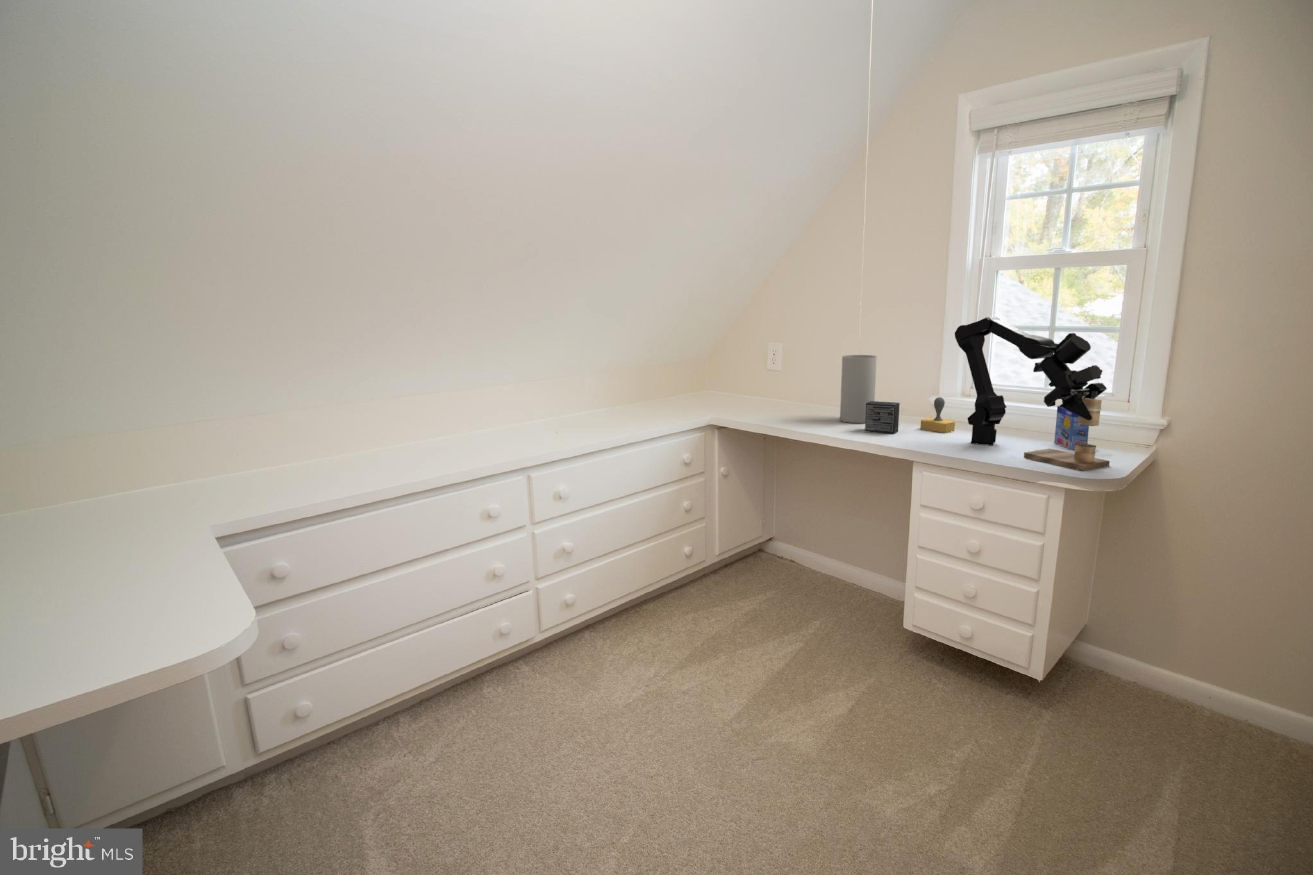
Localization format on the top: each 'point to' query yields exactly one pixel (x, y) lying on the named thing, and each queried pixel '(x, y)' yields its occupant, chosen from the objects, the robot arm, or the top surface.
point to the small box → (882, 417)
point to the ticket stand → (1070, 457)
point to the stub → (1091, 412)
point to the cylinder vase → (857, 386)
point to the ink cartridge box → (1069, 429)
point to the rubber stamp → (938, 420)
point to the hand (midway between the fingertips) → (1093, 419)
